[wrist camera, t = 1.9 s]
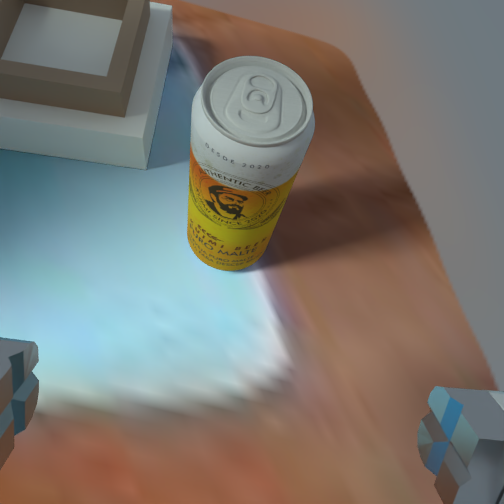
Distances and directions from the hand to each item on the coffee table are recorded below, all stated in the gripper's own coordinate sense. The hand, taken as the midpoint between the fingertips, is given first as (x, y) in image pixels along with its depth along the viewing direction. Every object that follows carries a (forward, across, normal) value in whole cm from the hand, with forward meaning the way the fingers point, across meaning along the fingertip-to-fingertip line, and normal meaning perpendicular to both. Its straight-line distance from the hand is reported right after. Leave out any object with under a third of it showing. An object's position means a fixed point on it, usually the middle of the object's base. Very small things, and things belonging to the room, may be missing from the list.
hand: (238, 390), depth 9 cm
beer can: (+25, 0, +5) cm, 26 cm away
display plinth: (+33, +14, -4) cm, 36 cm away
